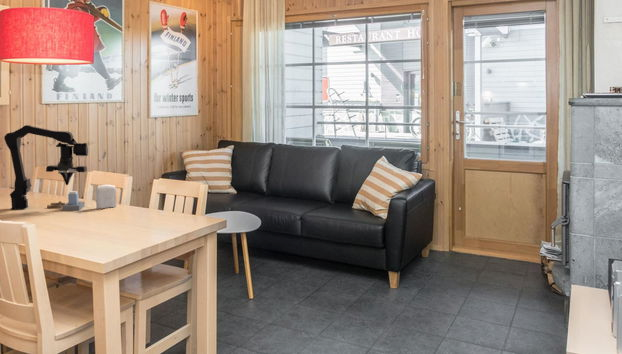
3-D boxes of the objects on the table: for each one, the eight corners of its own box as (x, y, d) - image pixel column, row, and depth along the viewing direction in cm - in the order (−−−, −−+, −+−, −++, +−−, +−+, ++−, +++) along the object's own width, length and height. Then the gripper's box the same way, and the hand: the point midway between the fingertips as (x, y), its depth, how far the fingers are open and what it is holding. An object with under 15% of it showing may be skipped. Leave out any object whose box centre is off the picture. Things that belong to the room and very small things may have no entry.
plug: (68, 209, 267) (68, 192, 266) (70, 207, 271) (70, 190, 269) (76, 209, 267) (76, 192, 266) (78, 207, 271) (78, 190, 270)
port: (62, 210, 262) (62, 205, 262) (68, 206, 274) (68, 201, 274) (79, 210, 264) (79, 204, 264) (84, 206, 276) (84, 200, 275)
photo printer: (114, 205, 278) (113, 183, 277) (117, 207, 275) (116, 184, 273) (95, 208, 271) (94, 185, 269) (98, 209, 268) (97, 186, 266)
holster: (47, 208, 268) (46, 205, 267) (55, 202, 283) (55, 200, 282) (65, 208, 269) (65, 205, 269) (73, 202, 284) (73, 200, 284)
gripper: (42, 156, 258) (42, 187, 260) (81, 157, 261) (81, 187, 263) (49, 154, 269) (50, 183, 271) (86, 155, 272) (87, 184, 274)
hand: (67, 185), depth 270 cm, fingers closed
